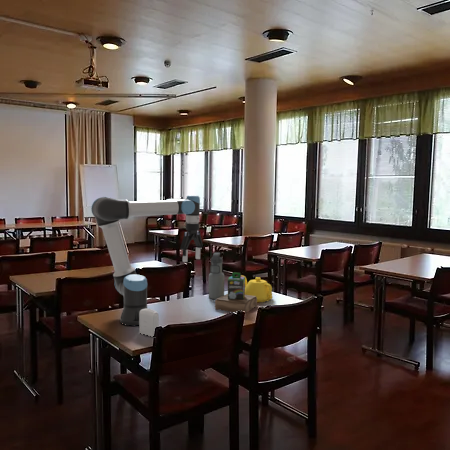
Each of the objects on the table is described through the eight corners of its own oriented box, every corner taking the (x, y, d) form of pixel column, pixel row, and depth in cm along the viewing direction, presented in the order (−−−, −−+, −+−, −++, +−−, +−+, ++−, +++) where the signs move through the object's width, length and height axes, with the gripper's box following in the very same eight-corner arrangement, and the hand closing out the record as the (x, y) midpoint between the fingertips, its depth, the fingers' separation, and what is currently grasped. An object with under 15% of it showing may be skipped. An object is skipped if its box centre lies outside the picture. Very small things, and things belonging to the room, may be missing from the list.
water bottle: (222, 300, 280) (222, 254, 278) (206, 299, 282) (207, 254, 280) (225, 296, 290) (226, 252, 288) (210, 295, 292) (211, 251, 290)
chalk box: (245, 296, 267) (245, 270, 265) (243, 300, 257) (244, 273, 256) (229, 295, 268) (229, 270, 266) (227, 299, 259) (227, 273, 257)
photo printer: (137, 333, 215) (137, 308, 214) (144, 331, 219) (144, 306, 218) (153, 338, 209) (153, 311, 208) (160, 336, 213) (160, 309, 212)
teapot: (231, 297, 287) (232, 276, 286) (250, 293, 300) (250, 272, 298) (262, 305, 270) (263, 282, 268) (281, 300, 282) (281, 278, 281)
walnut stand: (244, 313, 251) (244, 303, 251) (215, 309, 259) (215, 298, 259) (256, 306, 267) (257, 296, 267) (229, 302, 275) (229, 292, 275)
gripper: (186, 224, 246) (185, 263, 247) (209, 222, 268) (208, 258, 269) (174, 223, 249) (173, 262, 251) (198, 221, 271) (197, 257, 273)
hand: (191, 260), depth 260 cm, fingers open, 13 cm apart
